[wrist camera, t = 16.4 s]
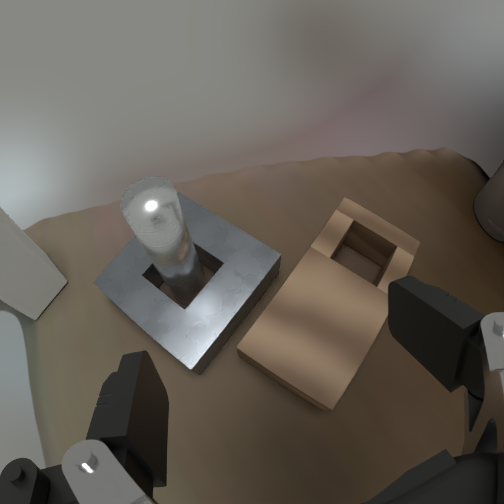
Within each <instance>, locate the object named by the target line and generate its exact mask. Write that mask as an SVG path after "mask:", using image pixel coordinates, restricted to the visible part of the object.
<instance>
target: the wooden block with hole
mask: <svg viewBox="0 0 504 504" xmlns="http://www.w3.org/2000/svg"><path fill="white" fill-rule="evenodd" d="M343 243H344V244H345V245H347V246H349V247H350V248H352V249H354V250H355V251H357V252H359V253H360V254H362V255H364V256H365V257H367V258H369V259H370V260H372V261H373V262H375V263H377V264H378V265H380V266H381V267H382V269H381V271H380V273H379V275H378V277H377V278H376V280H375V282H374V284H371V283H369V282H368V281H366V280H365V279H363V278H361V277H360V276H358V275H357V274H355V273H353V272H352V271H350V270H349V269H347V268H345V267H344V266H342V265H340V264H339V263H337V262H335V261H334V260H333V259H334V257H335V256H336V254H337V252H338V251H339V249H340V248H341V246H342V244H343ZM419 245H420V242H419V241H417V240H416V239H414V238H413V237H411V236H409V235H408V234H406V233H405V232H403V231H401V230H400V229H398V228H397V227H395V226H393V225H392V224H390V223H388V222H387V221H385V220H383V219H382V218H380V217H378V216H377V215H375V214H373V213H372V212H370V211H368V210H367V209H365V208H363V207H361V206H360V205H358V204H356V203H354V202H353V201H351V200H349V199H347V198H345V197H344V199H343V200H342V202H341V203H340V205H339V206H338V208H337V209H336V211H335V212H334V214H333V215H332V217H331V218H330V219H329V221H328V222H327V224H326V225H325V227H324V228H323V230H322V231H321V232H320V234H319V235H318V237H317V238H316V240H315V241H314V242H313V244H312V245H311V247H310V248H309V249H308V251H307V252H306V254H305V255H304V256H303V258H302V259H301V261H300V262H299V263H298V265H297V266H296V268H295V269H294V270H293V272H292V273H291V275H290V276H289V277H288V279H287V280H286V281H285V283H284V284H283V286H282V287H281V288H280V290H279V291H278V292H277V294H276V295H275V296H274V298H273V299H272V300H271V302H270V303H269V305H268V306H267V307H266V309H265V310H264V311H263V313H262V314H261V315H260V317H259V318H258V319H257V321H256V322H255V323H254V325H253V326H252V327H251V329H250V330H249V331H248V332H247V334H246V335H245V336H244V338H243V339H242V340H241V342H240V343H239V344H238V345H237V347H236V348H237V351H238V354H239V357H241V358H242V359H244V360H245V361H246V362H248V363H249V364H251V365H252V366H254V367H255V368H257V369H258V370H259V371H261V372H262V373H264V374H265V375H267V376H268V377H270V378H271V379H273V380H274V381H276V382H277V383H279V384H280V385H282V386H283V387H285V388H286V389H288V390H290V391H291V392H293V393H294V394H296V395H297V396H299V397H300V398H302V399H304V400H305V401H307V402H308V403H310V404H312V405H313V406H315V407H317V408H318V409H320V410H333V408H334V407H335V405H336V403H337V402H338V400H339V399H340V397H341V396H342V394H343V393H344V391H345V389H346V388H347V386H348V385H349V383H350V381H351V380H352V378H353V376H354V375H355V373H356V371H357V370H358V368H359V366H360V365H361V363H362V361H363V360H364V358H365V356H366V354H367V353H368V351H369V349H370V347H371V345H372V344H373V342H374V340H375V338H376V336H377V334H378V332H379V331H380V329H381V327H382V325H383V323H384V321H385V319H386V317H387V315H388V285H389V283H390V282H392V281H394V280H397V279H400V278H403V277H405V276H406V275H407V273H408V271H409V268H410V266H411V264H412V261H413V259H414V257H415V254H416V252H417V250H418V247H419Z"/></svg>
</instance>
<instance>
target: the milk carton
mask: <svg viewBox="0 0 504 504" xmlns="http://www.w3.org/2000/svg"><path fill="white" fill-rule="evenodd" d="M67 282H68V281H67V280H66V279H65V277H64V276H63V275H62V274H61V272H60V271H59V270H58V269H57V267H56V266H55V265H54V264H53V262H52V261H51V260H50V259H49V257H48V256H47V255H46V253H45V252H44V251H42V250H41V249H40V248H39V247H38V246H37V245H36V244H35V243H34V242H33V241H32V240H31V239H30V238H29V237H28V236H27V235H26V234H25V233H24V232H23V231H22V230H21V229H20V228H19V227H18V226H17V225H16V224H15V222H14V221H13V220H12V219H11V218H10V217H9V216H8V215H7V214H6V213H5V212H4V211H3V209H1V207H0V300H2V301H3V302H5V303H6V304H8V305H10V306H11V307H13V308H14V309H16V310H18V311H19V312H21V313H23V314H25V315H26V316H28V317H30V318H32V319H33V320H36V319H37V318H38V317H39V316H40V314H41V313H42V312H43V311H44V310H45V308H46V307H47V306H48V305H49V303H50V302H51V301H52V300H53V299H54V297H55V296H56V295H57V294H58V293H59V292H60V290H61V289H62V288H63V287H64V286H65V285H66V283H67Z"/></svg>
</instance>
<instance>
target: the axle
mask: <svg viewBox="0 0 504 504" xmlns="http://www.w3.org/2000/svg"><path fill="white" fill-rule="evenodd" d="M121 211H122V213H123V215H124V216H125V218H126V220H127V222H128V223H129V225H130V227H131V228H132V230H133V232H134V233H135V235H136V237H137V238H138V240H139V242H140V243H141V245H142V247H143V248H144V250H145V251H146V253H147V255H148V256H149V258H150V259H151V261H152V263H153V264H154V266H155V267H156V269H157V270H158V272H159V274H160V275H161V277H162V278H163V280H164V281H165V283H166V284H167V286H168V287H169V289H170V290H171V292H172V293H173V295H174V296H175V298H176V299H177V300H178V301H179V302H180V303H182V304H185V305H190V303H191V302H192V301H193V300H194V299H195V297H196V296H197V295H198V294H199V293H200V291H201V290H202V289H203V288H204V287H205V286H206V284H207V280H206V278H205V275H204V272H203V269H202V266H201V264H200V261H199V258H198V255H197V252H196V250H195V247H194V244H193V241H192V238H191V235H190V232H189V229H188V226H187V223H186V220H185V217H184V214H183V211H182V208H181V205H180V202H179V199H178V196H177V193H176V190H175V187H174V185H173V184H172V182H171V181H169V180H168V179H166V178H164V177H159V176H150V177H146V178H143V179H140V180H138V181H137V182H135V183H134V184H132V185H131V186H130V187H129V188H128V189H127V190H126V192H125V193H124V195H123V197H122V199H121Z"/></svg>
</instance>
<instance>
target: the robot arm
mask: <svg viewBox="0 0 504 504" xmlns="http://www.w3.org/2000/svg"><path fill="white" fill-rule="evenodd" d="M474 210H475V214H476V217H477V219H478V221H479V223H480V224H481V226H482V227H483V229H484V230H485V231H486V232H487V233H488V234H489V235H490V236H491V237H493V238H494V239H496V240H498V241H500V242H504V160H503V161H502V163H501V164H500V166H499V167H498V169H497V170H496V171H495V173H494V174H493V176H492V177H491V178H490V180H489V181H488V182H487V184H486V185H485V186H484V188H483V189H482V190H481V192H480V193H479V194H478V196H477V197H476V199H475V201H474ZM388 324H389V329H390V332H391V334H392V336H393V337H394V338H395V339H396V340H397V341H398V342H399V343H400V344H401V345H402V346H403V347H404V348H405V349H406V350H407V351H408V352H409V353H410V354H411V355H412V356H413V357H415V358H416V359H417V360H418V361H419V362H420V363H421V364H422V365H423V366H424V367H425V368H426V369H427V370H428V371H429V372H430V373H431V374H432V375H433V376H434V377H435V378H436V379H437V380H438V381H439V382H440V383H441V384H442V385H443V386H444V387H445V388H446V389H447V390H448V391H449V392H450V393H451V392H452V391H454V390H455V389H457V388H459V387H460V386H462V385H464V386H465V387H466V390H465V393H464V410H465V434H464V446H463V450H462V453H461V456H457V457H452V456H451V455H450V454H449V452H448V451H447V450H446V449H445V450H443V451H442V452H440V453H438V454H437V455H435V456H433V457H432V458H430V459H428V460H426V461H425V462H423V463H421V464H419V465H418V466H416V467H414V468H412V469H410V470H408V471H407V472H406V473H404V474H403V475H402V476H401V477H400V478H398V479H397V480H396V481H395V482H393V483H392V484H391V485H390V486H388V487H387V488H386V489H384V490H383V491H382V492H380V493H379V494H378V495H376V496H375V497H374V498H372V499H371V500H369V501H367V502H365V503H362V504H504V312H495V313H491V314H488V315H487V316H485V315H483V314H481V313H480V312H478V311H477V310H475V309H473V308H472V307H470V306H469V305H467V304H465V303H464V302H462V301H460V300H457V298H455V297H454V296H452V295H449V293H447V292H445V291H444V290H442V289H440V288H439V287H435V286H431V285H427V284H424V283H423V282H421V281H419V280H418V279H416V278H414V277H413V276H410V275H408V276H405V277H403V278H400V279H397V280H394V281H392V282H390V283H389V285H388ZM99 396H100V397H99V398H98V401H97V404H96V405H97V407H95V410H94V413H93V417H92V420H91V423H90V427H89V430H88V433H87V437H86V440H84V441H81V442H79V443H77V444H75V445H73V446H72V447H71V448H70V449H69V450H68V451H67V452H66V454H65V455H64V457H63V460H62V464H60V465H57V466H53V467H49V468H45V469H41V470H40V469H39V468H38V467H37V466H36V465H35V464H34V463H33V462H32V461H31V460H29V459H27V458H19V459H16V460H13V461H11V462H10V463H9V464H8V465H7V466H6V467H5V468H4V469H3V471H2V473H1V475H0V504H158V503H157V502H156V500H155V499H154V498H153V487H164V486H166V480H167V436H168V413H169V401H168V395H167V392H166V389H165V387H164V385H163V383H162V381H161V378H160V376H159V374H158V372H157V370H156V368H155V366H154V364H153V362H152V359H151V357H150V355H149V354H148V352H147V351H140V352H135V353H130V354H125V355H123V356H122V359H121V362H120V365H119V368H118V371H117V372H113V373H111V375H110V376H109V377H108V378H107V379H106V381H105V382H104V383H103V385H102V388H101V391H100V394H99Z"/></svg>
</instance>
